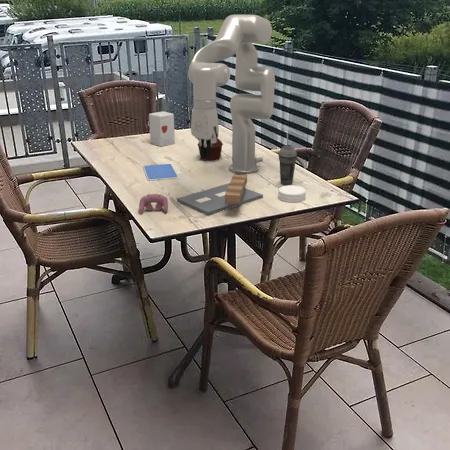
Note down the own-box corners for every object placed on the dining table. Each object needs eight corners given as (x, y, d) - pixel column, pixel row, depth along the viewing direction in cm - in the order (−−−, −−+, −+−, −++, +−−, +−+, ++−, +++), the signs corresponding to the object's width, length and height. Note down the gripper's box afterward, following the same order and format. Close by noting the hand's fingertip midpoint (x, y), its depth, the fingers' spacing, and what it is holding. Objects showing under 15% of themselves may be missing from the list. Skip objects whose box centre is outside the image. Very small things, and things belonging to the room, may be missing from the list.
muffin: (192, 158, 252) (192, 136, 248) (211, 153, 259) (210, 132, 255) (209, 163, 244) (209, 141, 240) (228, 158, 251) (228, 137, 247)
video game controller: (168, 214, 194) (168, 194, 195) (167, 213, 190) (167, 192, 190) (140, 214, 194) (139, 194, 194) (138, 213, 189) (138, 193, 190)
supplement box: (160, 147, 270) (159, 116, 264) (150, 143, 276) (148, 113, 270) (175, 143, 275) (174, 113, 269) (164, 140, 281) (163, 110, 276)
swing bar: (234, 178, 211) (234, 171, 209) (247, 179, 210) (247, 171, 209) (224, 203, 187) (224, 194, 186) (239, 203, 186) (239, 195, 185)
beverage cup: (281, 187, 214) (283, 136, 207) (274, 181, 221) (276, 132, 213) (298, 185, 216) (301, 135, 208) (291, 180, 223) (293, 131, 215)
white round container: (310, 197, 205) (311, 188, 203) (295, 205, 198) (295, 195, 196) (288, 191, 211) (288, 183, 209) (272, 198, 204) (272, 189, 203)
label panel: (230, 185, 217) (230, 175, 215) (262, 197, 204) (263, 186, 203) (176, 201, 201) (176, 190, 199) (208, 215, 189) (208, 203, 187)
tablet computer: (178, 180, 225) (178, 176, 225) (147, 182, 223) (147, 179, 222) (171, 166, 243) (171, 163, 242) (142, 168, 240) (142, 165, 239)
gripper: (182, 102, 189) (184, 154, 197) (210, 109, 179) (211, 164, 186) (199, 99, 194) (201, 150, 201) (227, 106, 183) (228, 159, 191)
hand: (205, 157), depth 194 cm, fingers closed
